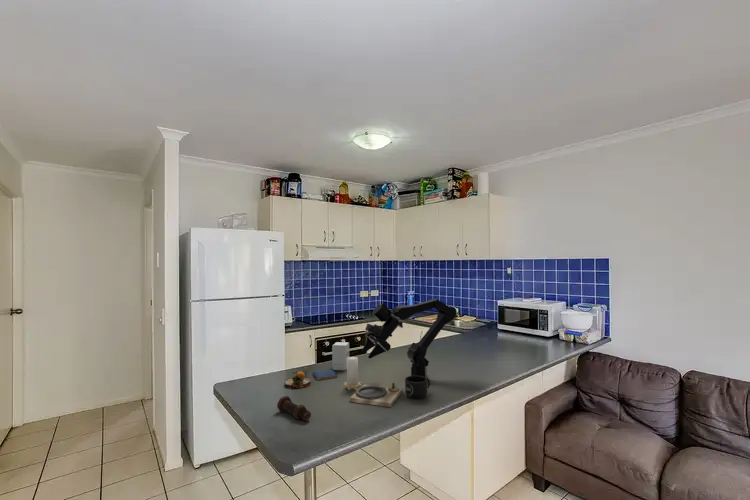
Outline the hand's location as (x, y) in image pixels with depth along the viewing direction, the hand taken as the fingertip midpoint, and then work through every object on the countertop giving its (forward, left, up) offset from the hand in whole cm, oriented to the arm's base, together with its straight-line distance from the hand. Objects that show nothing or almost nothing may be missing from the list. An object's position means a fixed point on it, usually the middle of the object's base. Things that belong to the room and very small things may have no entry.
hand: (365, 355), depth 162 cm
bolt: (+13, +38, -14) cm, 42 cm away
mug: (-25, +4, -13) cm, 29 cm away
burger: (+30, +8, -14) cm, 34 cm away
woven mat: (+24, -6, -14) cm, 28 cm away
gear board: (-9, +11, -13) cm, 20 cm away
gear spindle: (+5, +4, -13) cm, 14 cm away
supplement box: (+22, -20, -13) cm, 32 cm away
